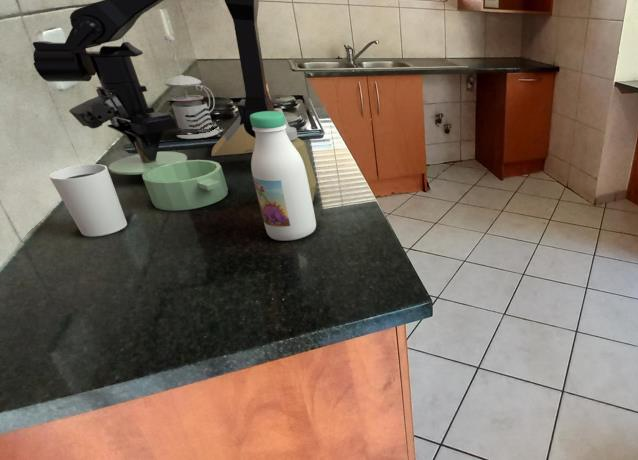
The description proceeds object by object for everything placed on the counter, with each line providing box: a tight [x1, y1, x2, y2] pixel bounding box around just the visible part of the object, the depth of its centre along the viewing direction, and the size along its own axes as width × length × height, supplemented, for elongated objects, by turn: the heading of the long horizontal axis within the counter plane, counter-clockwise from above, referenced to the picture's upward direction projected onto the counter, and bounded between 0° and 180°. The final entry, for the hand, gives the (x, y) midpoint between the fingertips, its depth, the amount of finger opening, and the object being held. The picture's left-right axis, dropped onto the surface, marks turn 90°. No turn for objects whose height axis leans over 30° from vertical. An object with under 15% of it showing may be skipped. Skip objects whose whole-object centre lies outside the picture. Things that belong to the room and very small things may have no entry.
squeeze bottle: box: [274, 107, 317, 202], centre depth 79 cm, size 8×8×18 cm
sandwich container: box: [211, 83, 272, 157], centre depth 106 cm, size 9×15×15 cm, turn 118°
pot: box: [141, 159, 229, 212], centre depth 81 cm, size 12×17×6 cm
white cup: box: [48, 163, 128, 237], centre depth 68 cm, size 7×7×10 cm
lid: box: [108, 140, 189, 176], centre depth 88 cm, size 13×13×6 cm
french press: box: [163, 34, 220, 140], centre depth 113 cm, size 10×12×25 cm
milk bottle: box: [250, 111, 317, 242], centre depth 68 cm, size 8×8×20 cm
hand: (148, 158), depth 89 cm, fingers closed on lid, 2 cm apart
